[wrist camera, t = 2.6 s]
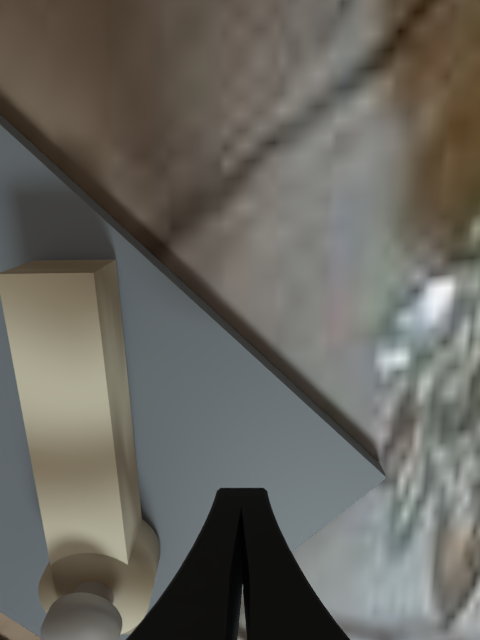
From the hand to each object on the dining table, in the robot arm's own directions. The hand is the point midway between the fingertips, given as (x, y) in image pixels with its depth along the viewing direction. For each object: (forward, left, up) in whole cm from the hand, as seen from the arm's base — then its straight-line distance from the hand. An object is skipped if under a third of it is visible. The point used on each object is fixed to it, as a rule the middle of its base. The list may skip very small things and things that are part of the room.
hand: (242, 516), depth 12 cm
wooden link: (-5, +3, -5) cm, 8 cm away
